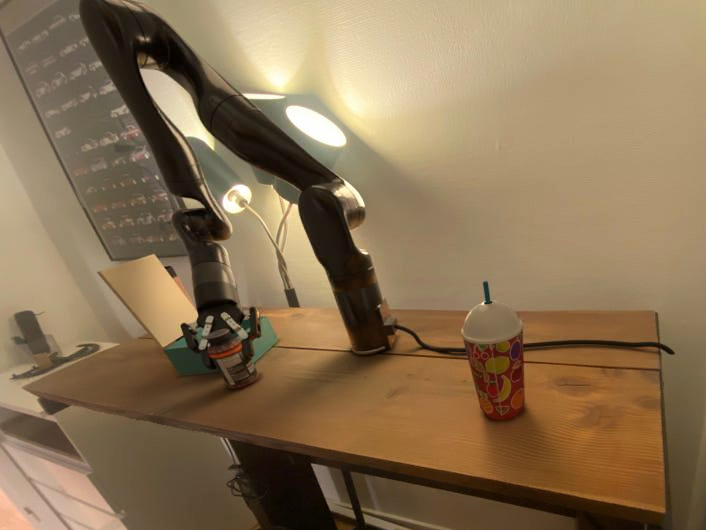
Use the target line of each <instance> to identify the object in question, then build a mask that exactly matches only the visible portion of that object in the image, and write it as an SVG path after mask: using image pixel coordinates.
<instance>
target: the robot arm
mask: <svg viewBox="0 0 706 530" xmlns="http://www.w3.org/2000/svg"><path fill="white" fill-rule="evenodd" d="M78 14H79V19H80V22H81V25H82V28H83V30H84V33H85V35H86V37H87V39H88V41H89V43H90V46H91V47H92V49H93V51H94V52H95V55H96V56H97V58H98V60H99V61H100V63H101V65H102V67H103V69H104V70H105V72H106V74H107V75H108V77H109V79H110V81H111V82H112V84H113V85H114V87H115V90H116V91H117V93H118V94H119V96H120V98H121V99H122V101H123V103H124V105H125V106H126V107H127V109H128V112H129V113H130V114H131V116H132V117H133V119H134V121H135V123H136V124H137V126H138V128H139V130H140V131H141V133H142V135H143V137H144V139H145V141H146V143H147V145H148V147H149V149H150V151H151V154H152V156H153V158H154V161H155V163H156V166H157V168H158V171H159V173H160V175H161V178H162V180H163V183H164V185H165V187H166V189H167V191H168V193H169V194H170V195H171V196H173V197H177V198H181V199H182V198H183V199H188V200H189V199H190V200H194V201H197V202H199V203H200V204H201V205H202V206H203V207H192V208H180V209H179V208H178V209H177V210H175V211H173V213H172V214H171V218H170V223H171V227H172V229H173V230H174V233H175V235H176V236H177V237H178V239H179V240H180V242H181V244H182V245H183V247H184V249H185V252H186V254H187V257H188V263H189V267H190V273H191V274H190V277H191V279H190V280H191V286H192V293H193V298H194V304H195V308H196V310H197V313H198V318H197V320H196V322H193V323H191V324H186V323H182V324H181V325H180V327H181V330H182V332H183V335H184V338H185V341H186V343H187V346H188V348H189V349H190V350H192V351H194V352H195V353H201V355H202V361H203V365H204V366H205V367H207V368H209V369H211V370H215V369H216V366H215V364H214V362H213V361H212V359H211V357H210V355H209V354H208V347H209V346H210V343H208V340H207V338H206V336H207V335H208V334H210V333H212V332H214V331H217V330H221V329H229V330H230V332H231V334H234V333H235V332H237V334H238V335H239V336H240V337H241V338H242V341H241V344H242V349H243V353H244V357H245V358H246V359H247V360H252V359H253V358H252V357H253V356H254V355H255V352H254V348H253V343H252V342H253V340H254V339H256V338H260V337H261V336H262V334H261V317H262V316H261V312H259V310H258V309H257V308H256V307H255V306H251V307H249V309H242V305H241V300H240V296H239V291H238V284H237V282H236V278H235V275H234V273H233V270H232V265H231V261H230V257H229V253H228V250H227V249H226V248H225V246H223V245H222V244H220V243H217V242H221V241H222V242H223V241H228V240H229V239H231V237H232V235H233V232H234V231H233V224H232V222H231V220H230V218H229V216H228V215H227V213H226V212H225V211H224V209H223V208H222V206H221V205H220V203H219V202H218V201H217V199H216V198H215V196H214V194H213V192H212V190H211V188H210V186H209V184H208V182H207V179H206V177H205V173H204V171H203V169H202V166H201V162H200V160H199V157H198V155H197V153H196V151H195V148H194V147H193V146H192V143H191V142H190V141H189V139H188V137H186V135H185V134H184V133H183V131H181V129H179V127H178V126H177V125H176V124H175V123H174V122H173V120H171V118H169V116H168V115H167V114H166V113H165V112H164V110H163V109H162V108H161V107H160V105H159V104H158V103H157V101H156V100H155V99H154V97H153V95H152V94H151V92H150V90H149V88H148V86H147V84H146V82H145V80H144V76H143V74H142V72H141V70H149V71H150V70H151V71H158V72H160V73H162V74H164V75H166V76H168V77H169V78H170V79H171V80H173V81H174V82H175V83H176V84H177V85H178V86H180V87H181V88H183V89H184V90H185V92H187V93H188V95H189V96H190V98H191V100H192V103H193V107H194V109H195V112H196V115H197V117H198V119H199V121H200V123H201V124H202V126H203V128H204V129H205V130H206V131H207V132H208V133H209V134H210V135H211V136H212V137H213V138H214V139H215V140H216V141H218V142H219V143H220V144H221V145H222V146H223V147H224V148H226V149H227V151H229V152H230V153H231V154H232V155H234V156H235V157H237V158H238V159H240V160H241V161H243V162H244V163H246V164H248V165H249V166H251V167H254V168H255V169H257V170H259V171H260V172H261V171H262V172H264V173H266V174H268V175H270V176H273V177H275V178H277V179H279V180H281V181H283V182H285V183H287V184H289V185H291V186H292V187H293V188H295V189H296V190H298V191H299V194H298V198H297V211H298V215H299V219H300V222H301V226H302V228H303V230H304V233H305V235H306V237H307V240H308V242H309V244H310V246H311V249H312V251H313V254H314V256H315V258H316V260H317V262H318V263H319V264H320V265H321V267H322V268H323V270H324V271H325V274H326V277H327V280H328V283H329V286H330V289H331V291H332V294H333V297H334V300H335V303H336V305H337V309H338V312H339V314H340V317H341V320H342V323H343V326H344V328H345V332H346V334H347V337H348V340H349V343H350V346H351V349H352V352H353V353H354V354H355V355H360V356H368V355H374V354H377V353H380V352H383V351H386V350H390V349H392V348H393V345H394V343H395V341H396V340H397V331H398V330H399V331H402V332H405V333H407V334H408V335H410V336H412V338H413V339H414V340H415V342H416V343H417V345H419V346H420V347H421V348H423V349H425V350H429V351H432V352H433V351H434V352H437V353H438V352H440V353H441V352H443V353H466V349H465V347H450V346H449V347H445V346H444V347H443V346H441V347H440V346H439V347H438V346H432V345H429V344H427V343H425V342H424V341H422V340H421V338H420V337H419V335H418V334H417V333H416V332H415V331H413V329H410V328H408V327H406V326H404V325H400V324H399V323H398V319H397V317H396V316H392V315H391V312H390V308H389V304H388V301H387V298H386V297H383V295H382V292H381V288H380V284H379V281H378V277H377V273H376V271H375V266H374V263H373V260H372V256H371V254H370V252H368V250H365V249H360V248H359V247H358V246H357V245H356V244H355V241H354V238H353V236H352V233H351V232H352V231H354V230H356V229H357V228H360V227H361V226H362V225H363V224H364V222H365V220H366V215H367V211H366V206H365V202H364V200H363V198H362V196H361V194H360V193H359V192H358V191H357V189H356V188H354V186H353V185H351V184H350V183H349V182H348V181H346V180H345V179H344V178H343V177H341V176H340V175H338V174H337V173H335V172H334V171H332V170H331V169H330V168H329V167H327V166H326V165H324V164H323V163H322V162H321V161H319V160H318V159H316V158H315V157H314V156H313V155H311V154H310V153H309V152H308V151H307V150H305V148H304V147H302V146H301V145H300V144H299V143H298V142H297V141H295V140H294V138H292V137H291V136H290V135H289V134H287V133H286V132H285V131H284V130H283V129H282V128H281V127H280V126H278V125H277V124H276V123H275V122H274V121H273V119H271V118H270V117H269V116H268V115H266V113H265V112H264V111H262V110H261V109H260V108H259V107H258V106H257V105H256V104H255V103H253V102H252V101H251V100H250V99H249V98H248V97H247V96H246V95H244V94H243V93H242V92H240V91H239V90H238V89H237V88H236V87H235V86H234V85H232V84H231V83H230V82H229V81H228V80H227V79H226V78H224V76H223V75H221V74H220V73H219V72H218V71H217V70H216V69H215V68H213V67H212V65H210V63H208V62H207V61H206V60H205V59H204V58H203V57H201V55H200V54H199V53H197V51H196V50H195V49H194V48H193V47H192V46H191V45H190V44H189V43H188V42H187V41H186V39H184V38H183V36H182V35H181V34H180V33H179V32H178V31H177V30H176V29H175V28H174V26H172V25H171V24H170V23H169V21H167V20H166V18H165V17H163V16H162V15H161V14H160V13H159V12H158V11H156V10H155V9H154V8H152V7H150V6H148V5H147V4H146V3H145V4H144V3H142V2H139V1H136V0H79V2H78ZM247 318H248V319H249V320H250V332H248V333H247V332H246V331H245V330H244V329H243V328H242V327H241V326H240V325H241V323H242V322H243V320H244V319H247ZM199 327H201V328H203V332H202V335H201V338H202V339H201V342H200V344H199V341H198V338H197V336H196V334H198V328H199ZM572 345H574V346H575V345H576V346H577V345H588V346H589V345H591V346H594V345H595V346H613V347H623V348H656V349H659V350H662V351H664V352H665V353H666V354H668V355H670V356H674V355H676V353H675V351H674V350H673V349H672V348H670V347H669V346H668V345H666V344H663V343H660V342H656V341H636V342H635V341H634V342H633V341H631V342H630V341H620V340H605V339H604V340H603V339H565V340H563V339H561V340H550V341H548V340H547V341H538V342H536V341H535V342H525V343H523V349H529V348H540V347H542V348H543V347H555V346H572Z"/></svg>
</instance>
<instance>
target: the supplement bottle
mask: <svg viewBox="0 0 706 530" xmlns="http://www.w3.org/2000/svg"><path fill="white" fill-rule="evenodd" d="M206 338H207V340H208V343H210V346H209V347H208V354H209V355H210V357H211V359H212V361H213V362H214V364H215V366H216V367H217V369H218V371H219V374H220V376H221V378H222V379H223V381H224V383H225V385H226V386H227V387H228V388H229V389H233V390H235V389H242V388H245V387H248V386H251V385H252V384H253V383H254V382H256V380H258V379H259V372H258V370H257V368H256V366H255V363H254V364H253V362H252V360H247V359H246V358H245V357H244V353H243V349H242V344H241V340H240V339H239V338H236V337H233V336H232V334H231V332H230V330H229V329H221V330H217V331H214V332H212V333H210V334H208V335H207V336H206Z"/></svg>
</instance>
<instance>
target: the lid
mask: <svg viewBox="0 0 706 530" xmlns="http://www.w3.org/2000/svg"><path fill="white" fill-rule="evenodd" d="M164 267H165V266H164V265H163V264H162V262H161V261H160V260H159V258H158V257H157V256H156V254H155V253H152V254H149V255H146V256H143V257H140V258H137V259H133V260H130V261H128V262H127V261H126V262H124V263H121V264H117V265H115V266H112V267H111V266H110V267H108V268H105V269H102V270H99V271H96V274H97V275H98V276H99V277H100V279H102V281H103V282H104V283H105V284H106V286H107V287H108V288H109V289H110V290H111V292H112V293H113V294H114V295H115V296H116V297H117V299H118V300H119V301H120V302H121V304H122V305H123V306H124V307H125V308H126V309H127V310H128V312H129V313H130V314H131V315H132V316H133V318H134V319H135V320H136V321H137V323H138V324H139V325H140V326H141V327H142V328H143V330H144V331H145V332H146V333H147V334H148V336H149V337H150V338H151V339H152V340H153V342H154V343H155V344H156V345H157V346H158V347H159V349H162V348H166V346H168V345H171V344H172V343H173V342H176V339H178V338H179V337H181V336H183V332H182V330H181V327H180V325H181V324H182V323H186V324H191V323H193V322H196V320H197V318H198V313H197V311H196V310H197V309H195V308H196V307H195V308H194V307H193V305H192V304H191V303H190V301H189V300H188V299H187V297H186V296H185V295H184V293H183V292H182V291H181V289H180V288H179V287H178V285H177V284H176V283H175V281H174V280H173V279H172V277H171V276H170V275H169V273H168V272H167V271H166V269H165V268H164Z"/></svg>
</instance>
